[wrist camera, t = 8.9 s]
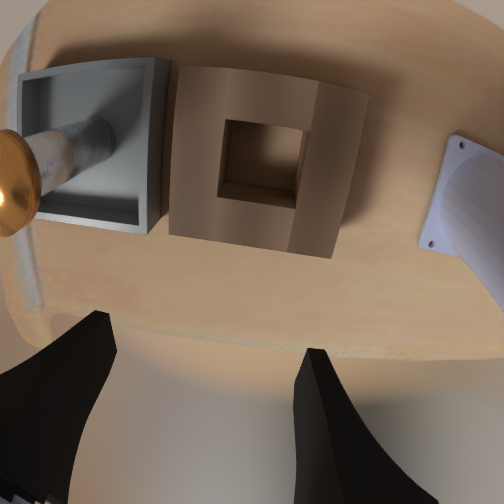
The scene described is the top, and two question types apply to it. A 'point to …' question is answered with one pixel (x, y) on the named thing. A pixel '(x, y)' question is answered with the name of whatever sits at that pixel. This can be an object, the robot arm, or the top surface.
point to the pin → (46, 165)
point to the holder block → (253, 196)
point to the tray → (126, 133)
